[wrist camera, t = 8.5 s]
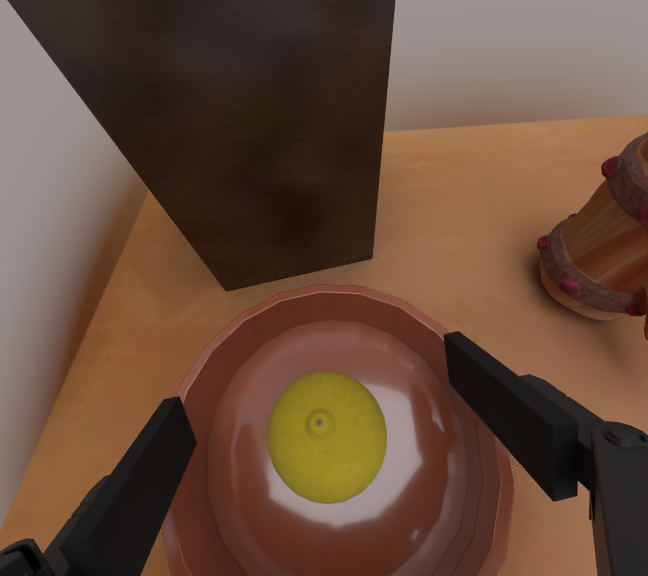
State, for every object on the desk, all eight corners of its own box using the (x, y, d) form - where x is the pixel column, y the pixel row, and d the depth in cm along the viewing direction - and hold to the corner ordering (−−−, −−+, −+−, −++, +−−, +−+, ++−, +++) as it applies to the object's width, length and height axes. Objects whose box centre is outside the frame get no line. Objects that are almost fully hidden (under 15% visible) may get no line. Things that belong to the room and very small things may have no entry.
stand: (225, 291, 24) (-100, -141, 7) (219, 188, 30) (39, -180, 13) (372, 258, 25) (417, -231, 7) (338, 163, 31) (317, -228, 13)
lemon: (392, 411, 18) (416, 381, 11) (360, 515, 16) (364, 555, 9) (310, 376, 20) (287, 330, 13) (269, 465, 18) (214, 468, 11)
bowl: (200, 672, 14) (141, 753, 10) (199, 343, 22) (166, 318, 18) (536, 583, 15) (603, 627, 11) (415, 293, 23) (427, 259, 19)
